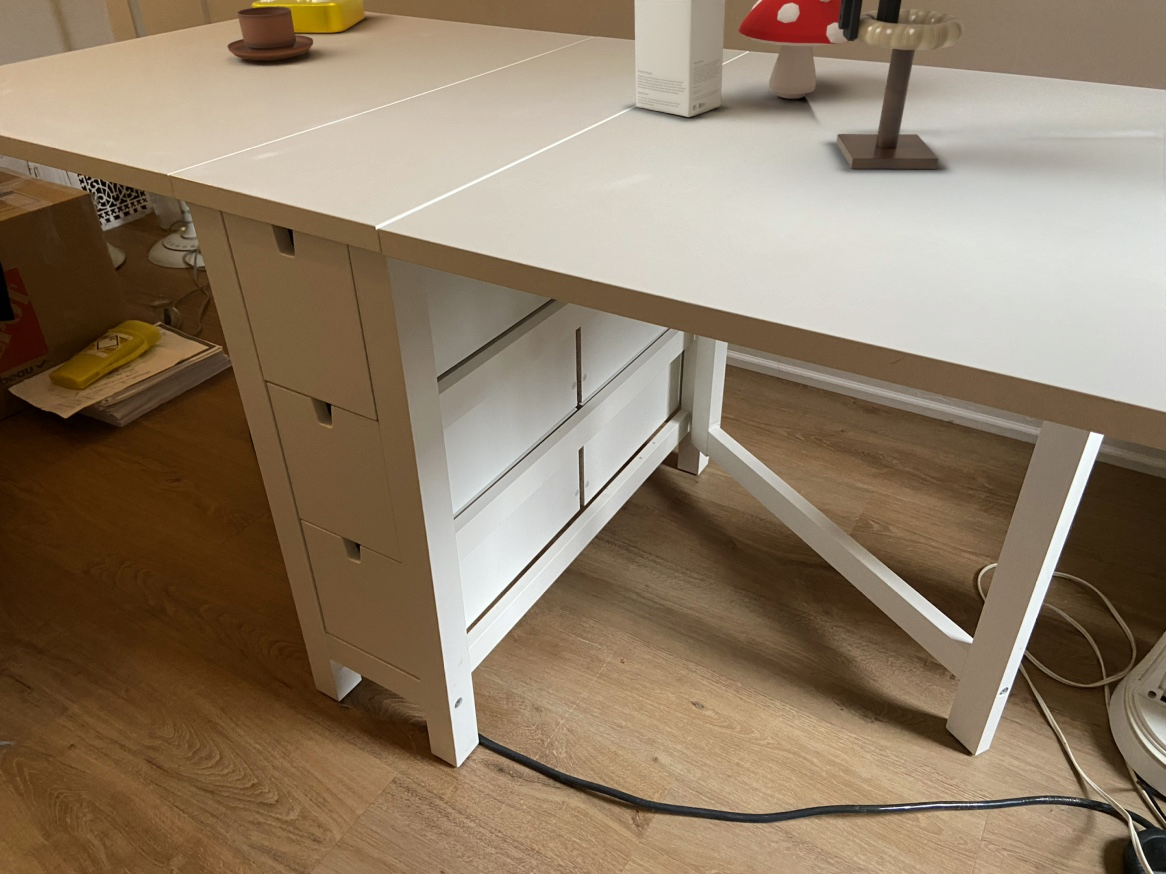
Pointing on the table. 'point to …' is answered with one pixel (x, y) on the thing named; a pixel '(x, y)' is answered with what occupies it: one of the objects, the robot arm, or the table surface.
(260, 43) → the cup and saucer
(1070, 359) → the table surface
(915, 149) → the peg
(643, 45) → the cosmetic box
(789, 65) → the decorative mushroom
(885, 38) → the ribbed beige ring
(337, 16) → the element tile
